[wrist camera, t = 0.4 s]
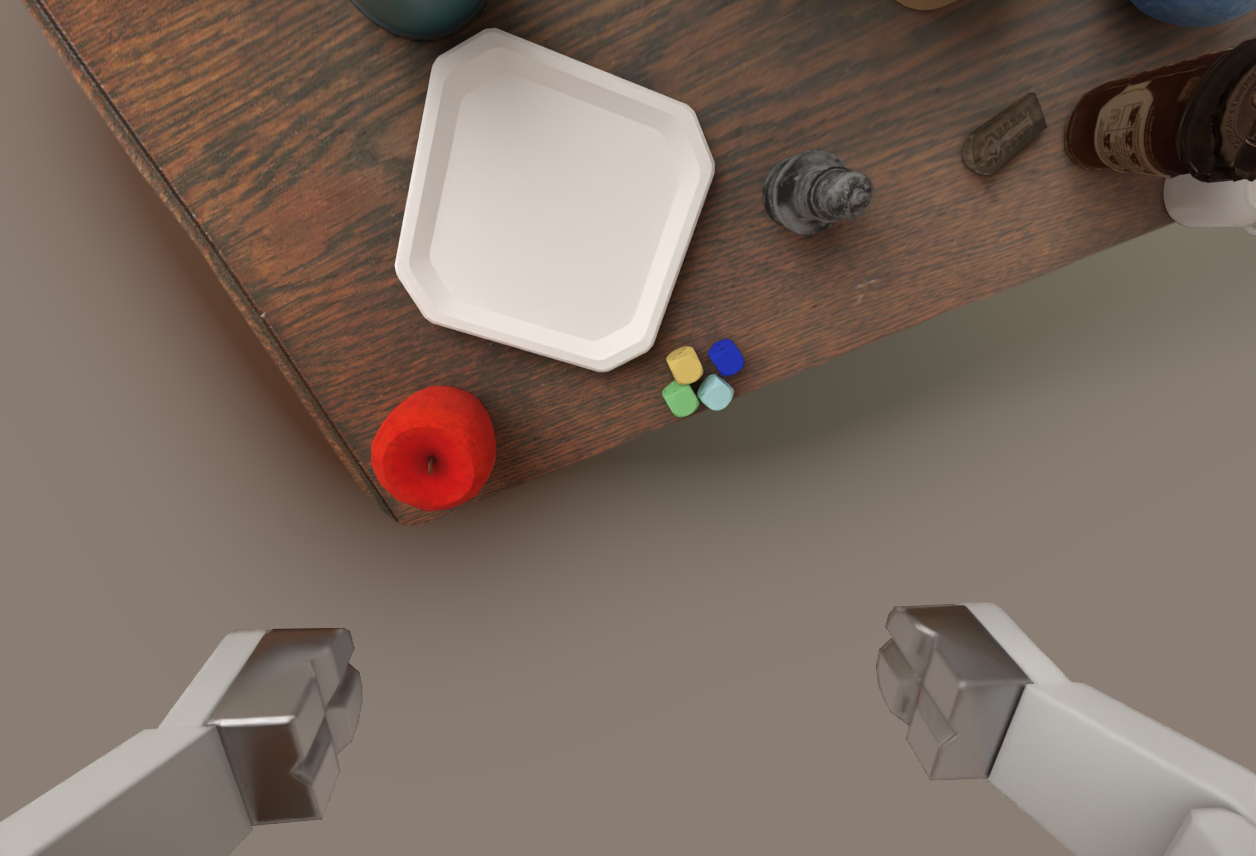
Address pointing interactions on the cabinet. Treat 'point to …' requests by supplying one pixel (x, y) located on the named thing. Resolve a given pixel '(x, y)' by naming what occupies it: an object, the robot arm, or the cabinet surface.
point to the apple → (435, 449)
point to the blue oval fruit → (1195, 11)
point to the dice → (690, 370)
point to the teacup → (1211, 203)
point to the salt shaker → (815, 192)
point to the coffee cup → (1173, 120)
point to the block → (1004, 135)
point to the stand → (925, 4)
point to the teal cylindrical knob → (421, 16)
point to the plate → (549, 202)
